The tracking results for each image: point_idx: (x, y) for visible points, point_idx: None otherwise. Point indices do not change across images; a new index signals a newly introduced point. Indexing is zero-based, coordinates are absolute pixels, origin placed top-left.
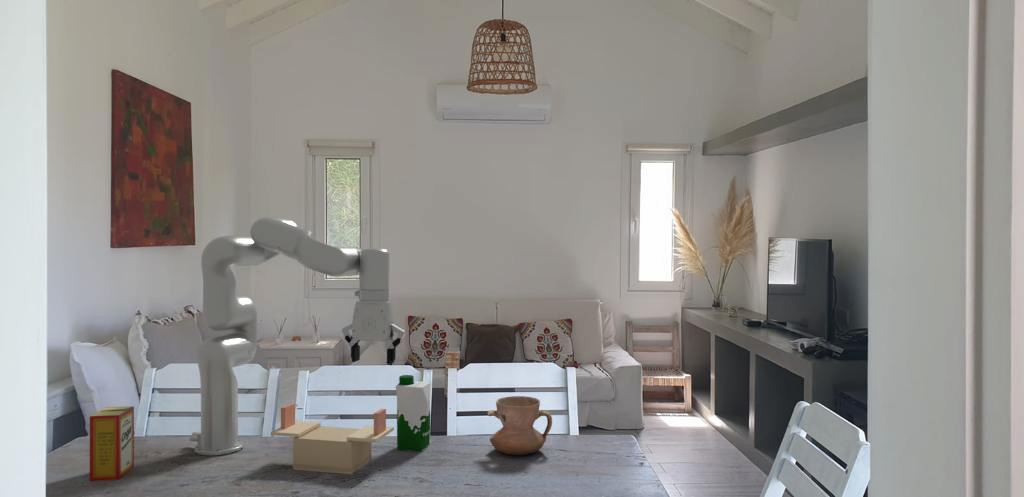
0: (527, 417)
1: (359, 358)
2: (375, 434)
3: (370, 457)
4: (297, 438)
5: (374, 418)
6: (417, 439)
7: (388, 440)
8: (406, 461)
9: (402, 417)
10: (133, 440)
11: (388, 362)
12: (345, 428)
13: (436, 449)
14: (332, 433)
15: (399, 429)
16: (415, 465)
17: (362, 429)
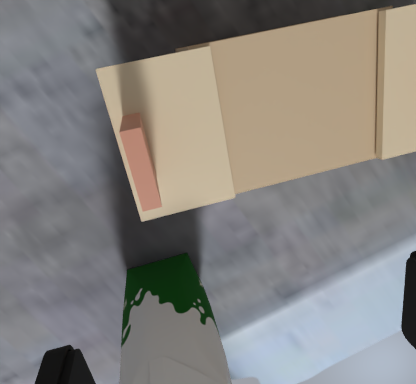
0: None
1: (410, 340)
2: (132, 113)
3: None
4: (378, 9)
5: (137, 124)
6: (134, 283)
7: (246, 293)
8: (111, 197)
9: (179, 306)
10: None
11: (49, 358)
12: (295, 172)
13: (105, 298)
14: (303, 109)
15: (186, 283)
16: (69, 183)
17: (217, 152)
